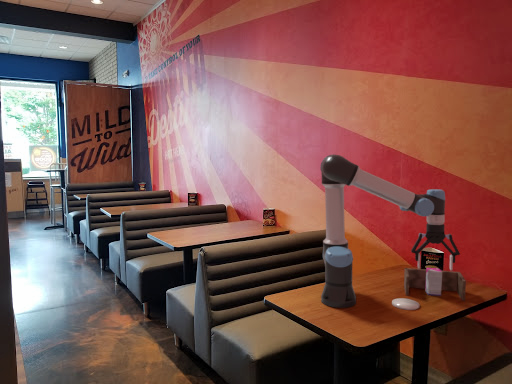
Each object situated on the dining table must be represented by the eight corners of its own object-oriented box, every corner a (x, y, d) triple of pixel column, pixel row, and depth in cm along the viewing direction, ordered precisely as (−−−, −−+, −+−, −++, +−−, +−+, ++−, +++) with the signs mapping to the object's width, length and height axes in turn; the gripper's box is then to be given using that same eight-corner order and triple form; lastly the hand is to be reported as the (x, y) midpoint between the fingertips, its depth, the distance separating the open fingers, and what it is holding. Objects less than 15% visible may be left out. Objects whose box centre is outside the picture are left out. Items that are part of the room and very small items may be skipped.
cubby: (405, 295, 179) (406, 276, 178) (404, 285, 191) (404, 268, 190) (465, 300, 171) (465, 280, 170) (459, 290, 184) (460, 272, 183)
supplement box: (441, 296, 177) (442, 271, 176) (427, 295, 179) (428, 271, 177) (438, 291, 183) (439, 267, 182) (424, 290, 184) (425, 267, 183)
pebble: (392, 308, 164) (392, 306, 164) (391, 298, 175) (391, 297, 174) (420, 311, 161) (420, 309, 161) (418, 301, 171) (418, 299, 171)
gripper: (406, 224, 178) (406, 269, 180) (467, 225, 170) (466, 272, 172) (405, 221, 185) (405, 264, 187) (464, 222, 177) (463, 268, 179)
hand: (434, 268), depth 180 cm, fingers open, 13 cm apart
